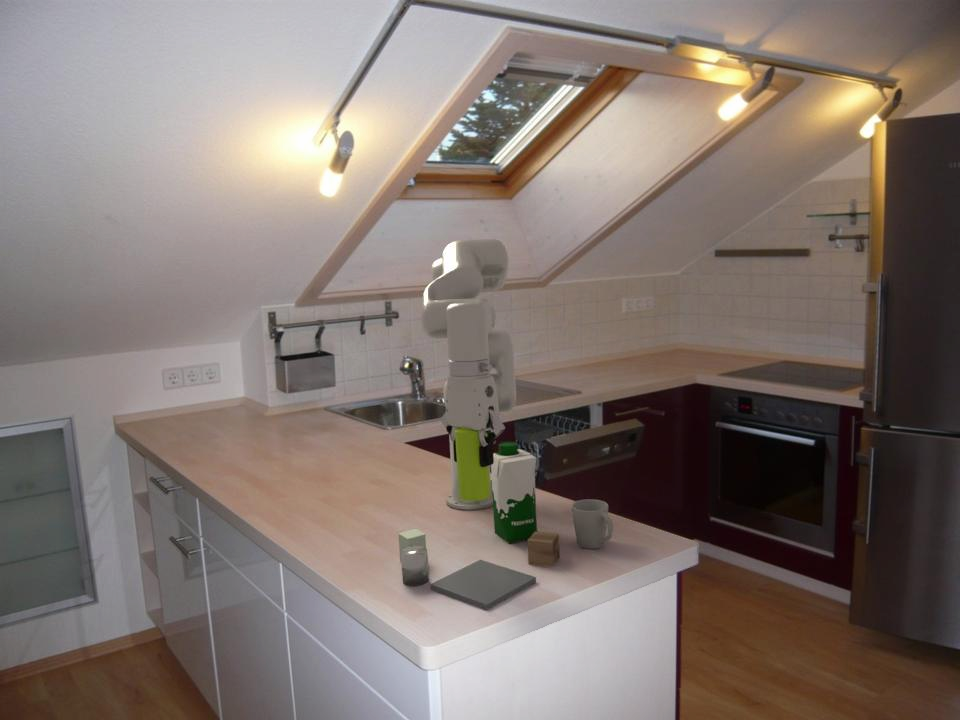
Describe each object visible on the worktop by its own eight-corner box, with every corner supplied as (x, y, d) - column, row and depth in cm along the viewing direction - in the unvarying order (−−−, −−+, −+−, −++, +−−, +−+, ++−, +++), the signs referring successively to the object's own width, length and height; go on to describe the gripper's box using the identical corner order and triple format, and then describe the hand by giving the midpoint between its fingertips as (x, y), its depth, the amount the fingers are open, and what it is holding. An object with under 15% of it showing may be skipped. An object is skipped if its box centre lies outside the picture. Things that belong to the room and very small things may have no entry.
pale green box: (417, 556, 165) (415, 528, 164) (426, 562, 162) (425, 534, 161) (400, 561, 163) (398, 533, 162) (409, 567, 159) (407, 539, 159)
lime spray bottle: (489, 489, 156) (482, 387, 153) (491, 499, 149) (483, 393, 146) (459, 491, 156) (451, 390, 153) (459, 502, 149) (451, 396, 146)
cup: (591, 534, 172) (591, 496, 171) (625, 548, 164) (624, 508, 163) (565, 543, 168) (563, 504, 167) (597, 558, 160) (596, 517, 158)
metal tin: (416, 573, 157) (414, 544, 156) (434, 579, 153) (432, 549, 152) (397, 582, 153) (395, 552, 152) (415, 588, 150) (413, 558, 149)
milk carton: (524, 525, 179) (521, 438, 176) (543, 538, 171) (540, 447, 168) (489, 532, 176) (484, 444, 173) (506, 546, 168) (502, 454, 165)
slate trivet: (480, 564, 159) (480, 559, 159) (536, 582, 150) (536, 577, 150) (430, 589, 149) (430, 584, 149) (486, 610, 140) (486, 604, 140)
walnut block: (536, 554, 163) (535, 531, 162) (559, 557, 161) (558, 533, 161) (528, 564, 159) (527, 540, 158) (552, 567, 157) (551, 542, 156)
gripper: (517, 368, 146) (521, 465, 148) (450, 363, 157) (454, 452, 160) (490, 374, 140) (495, 474, 143) (422, 368, 152) (427, 461, 154)
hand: (473, 462), depth 151 cm, fingers closed on lime spray bottle, 5 cm apart
